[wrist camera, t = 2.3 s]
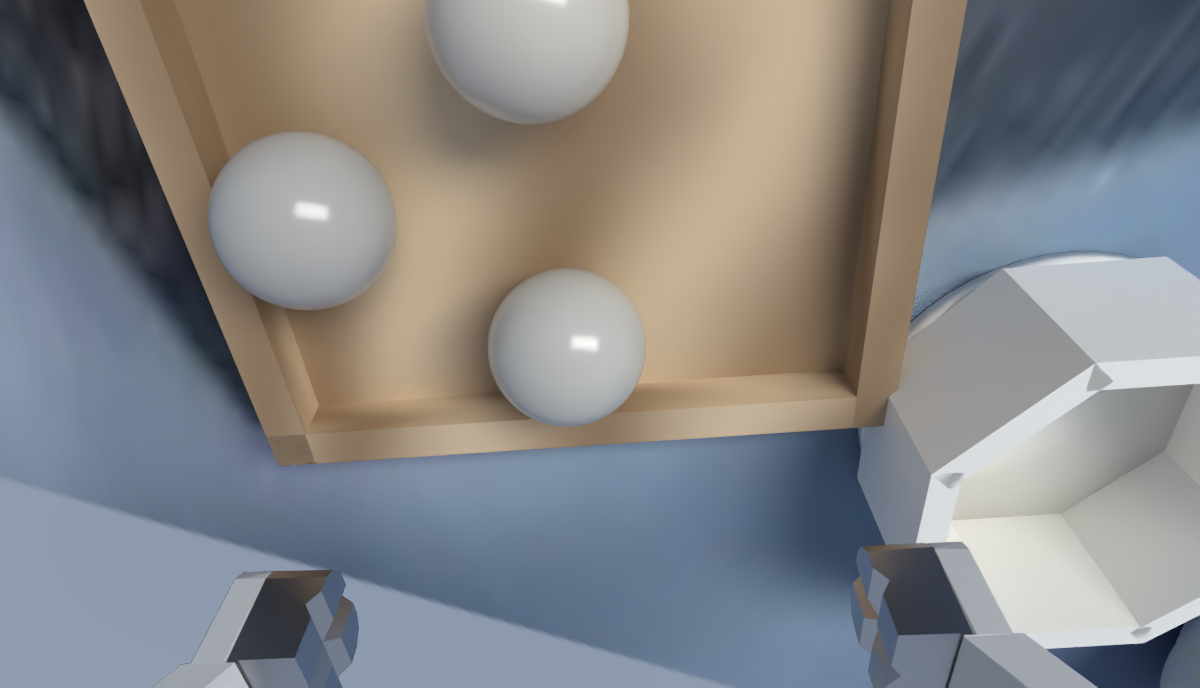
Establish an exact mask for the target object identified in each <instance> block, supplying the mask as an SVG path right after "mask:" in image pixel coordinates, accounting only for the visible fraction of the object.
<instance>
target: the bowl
mask: <svg viewBox="0 0 1200 688" xmlns="http://www.w3.org/2000/svg"><path fill="white" fill-rule="evenodd" d="M858 437H859V445H860V448H861V456H860V462H859V469H858V475H857V478H858V481H859V483H860V486H861V488H862V490H863V493H864V495H865V497H866V500H867V502H868V504H869V507H870V509H871V511H872V514H873V516H874V518H875V521H876V523H877V525H878V528H879V530H880V532H881V535H882V537H883V540H884V542H885V544H886V545H892V544H910V543H926V544H927V543H940V542H963V543H964V544H965V545H966V546H968V548H969V550H970V552H971V554H972V555H973V557H974V559H975V561H976V563H977V565H978V567H979V569H980V571H981V573H982V575H983V576H984V578H985V580H986V582H987V584H988V586H989V588H990V590H991V592H992V594H993V595H994V597H995V599H996V601H997V603H998V605H999V607H1000V609H1001V611H1002V613H1003V614H1004V616H1005V618H1006V620H1007V622H1008V624H1009V626H1010V628H1011V630H1012V632H1013V633H1024V634H1026V635H1027V636H1029V637H1030V638H1031V639H1033V640H1034V641H1035V642H1037V643H1038V644H1039V645H1041V646H1042V647H1043V648H1045V649H1051V648H1069V647H1087V646H1104V645H1122V644H1139V643H1145V642H1147V641H1149V640H1151V639H1153V638H1155V637H1157V636H1159V635H1161V634H1163V633H1165V632H1167V631H1169V630H1171V629H1173V628H1175V627H1177V626H1179V625H1181V624H1183V623H1185V622H1187V621H1189V620H1191V619H1193V618H1195V617H1197V616H1199V615H1200V280H1199V279H1198V278H1197V277H1195V276H1194V275H1192V274H1191V273H1189V272H1188V271H1187V270H1185V269H1184V268H1182V267H1181V266H1180V265H1178V264H1177V263H1175V262H1174V261H1173V260H1171V259H1170V258H1168V257H1154V258H1140V259H1139V258H1135V257H1131V256H1127V255H1123V254H1119V253H1110V252H1101V251H1070V252H1062V253H1055V254H1047V255H1042V256H1038V257H1034V258H1029V259H1025V260H1021V261H1018V262H1015V263H1012V264H1009V265H1006V266H1003V267H1000V268H997V269H995V270H992V271H990V272H988V273H986V274H984V275H981V276H979V277H977V278H975V279H973V280H970V281H969V282H967V283H965V284H963V285H962V286H960V287H958V288H957V289H955V290H953V291H951V292H950V293H948V294H946V295H945V296H944V297H942V298H941V299H939V300H938V301H937V302H935V303H934V304H932V305H931V306H930V307H928V308H927V309H926V310H924V311H923V312H922V313H921V314H920V315H919V316H918V317H916V318H915V319H914V320H913V321H912V322H911V323H910V326H909V331H908V337H907V343H906V348H905V354H904V359H903V365H902V371H901V376H900V382H899V388H898V390H897V391H896V392H894V393H893V394H892V395H890V396H889V399H888V405H887V411H886V417H885V423H884V426H876V427H860V428H858Z"/></svg>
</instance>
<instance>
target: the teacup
mask: <svg viewBox="0 0 1200 688" xmlns="http://www.w3.org/2000/svg"><path fill="white" fill-rule="evenodd" d="M1160 688H1200V615H1199V616H1197V617H1195V618H1193V619H1191V620H1189V621H1187V622H1186V623H1185V624H1184V625H1183V627H1182V629H1181V632H1180V634H1179V636H1178V638H1177V640H1176V644H1175V645H1174V647H1173V648H1172V650H1171V652H1170V654H1169V656H1168V658H1167V660H1166V662H1165V665H1164V668H1163V670H1162V674H1161V680H1160Z"/></svg>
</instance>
